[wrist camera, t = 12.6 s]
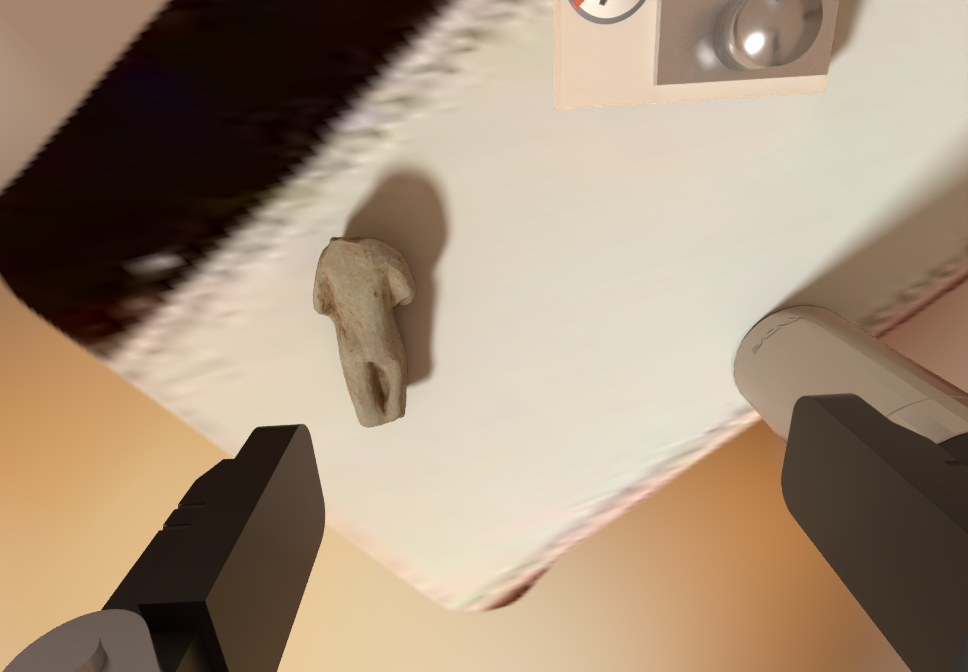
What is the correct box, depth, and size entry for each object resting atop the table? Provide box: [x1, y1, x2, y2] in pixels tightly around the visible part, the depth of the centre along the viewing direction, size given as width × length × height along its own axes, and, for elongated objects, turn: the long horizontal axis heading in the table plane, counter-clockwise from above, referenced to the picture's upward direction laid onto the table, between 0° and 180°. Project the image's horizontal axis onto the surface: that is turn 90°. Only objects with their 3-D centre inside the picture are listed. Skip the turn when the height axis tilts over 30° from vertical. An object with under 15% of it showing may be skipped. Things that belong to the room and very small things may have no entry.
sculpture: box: [313, 237, 416, 427], centre depth 41 cm, size 7×5×15 cm
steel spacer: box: [712, 0, 823, 71], centre depth 30 cm, size 4×4×4 cm
